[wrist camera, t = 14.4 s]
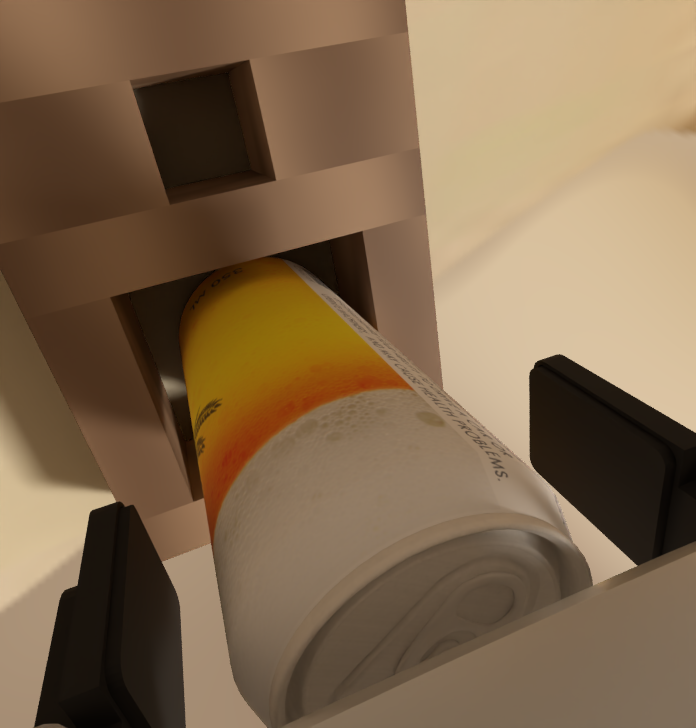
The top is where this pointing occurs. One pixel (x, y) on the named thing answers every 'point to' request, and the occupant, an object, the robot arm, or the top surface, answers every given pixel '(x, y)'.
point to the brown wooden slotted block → (199, 198)
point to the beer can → (350, 496)
